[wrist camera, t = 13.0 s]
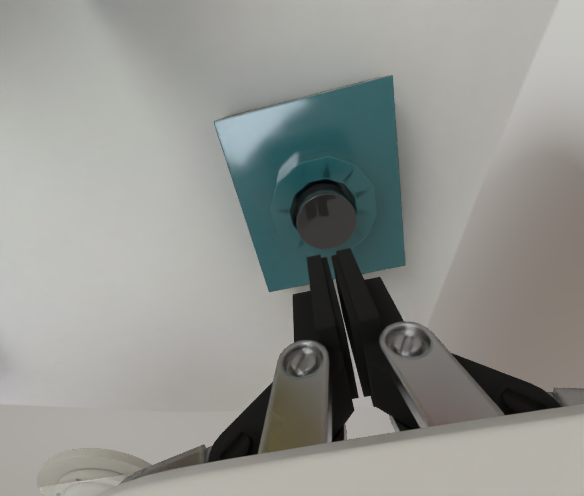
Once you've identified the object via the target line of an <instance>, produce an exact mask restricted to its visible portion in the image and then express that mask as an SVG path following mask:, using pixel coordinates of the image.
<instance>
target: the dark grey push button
mask: <svg viewBox="0 0 584 496" xmlns="http://www.w3.org/2000/svg"><path fill="white" fill-rule="evenodd" d="M356 221H357V218H356V212H355V210H354V208H353V206H352V204H351V202H350V200H349V199H348V197H347V195H346V194H345V192H344V191H343V190H342V189H340V188H339V187H337V186H335V185H333V184H329V183H320V184H316V185H313V186H311V187H309V188H307V189H306V190H305V191H304V192H303V193H302V194H301V196H300V197H299V199H298V201H297V205H296V224H297V230H298V233H299V235H300V236H301V238H302V239H303V240H304V241H305V242H306V243H307V244H309V245H310V246H312V247H315V248H319V249H332V248H335V247H338V246H340V245H342V244H343V243H345V242H346V241H347V240H348V239H349V238H350V237H351V235H352V234H353V232H354V230H355V227H356Z"/></svg>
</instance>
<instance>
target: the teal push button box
mask: <svg viewBox="0 0 584 496" xmlns="http://www.w3.org/2000/svg"><path fill="white" fill-rule="evenodd" d="M214 125H215V128H216V131H217V134H218V137H219V140H220V143H221V146H222V149H223V152H224V155H225V158H226V161H227V165H228V168H229V171H230V174H231V177H232V180H233V183H234V186H235V189H236V192H237V195H238V198H239V201H240V204H241V207H242V210H243V214H244V217H245V220H246V223H247V226H248V229H249V232H250V235H251V238H252V241H253V244H254V247H255V250H256V253H257V256H258V259H259V263H260V266H261V269H262V272H263V275H264V278H265V281H266V284H267V287H268V290H269V292H272V291H277V290H283V289H288V288H293V287H298V286H303V285H308V284H310V282H309V274H308V266H307V258H306V257H310V256H315V255H319V254H320V255H321V258H323V257H327V260H328V264H329V267H330V271H331V275H332V279H333V280H334V279H336V278H335V273H334V268H333V263H332V258H331V256H333V255H336V251H338V250H343V249H348V248H351V250H352V253H353V255H354V257H355V260H356V262H357V264H358V267H359V269H360V271H361V274H364V273H369V272H374V271H380V270H385V269H390V268H395V267H400V266H405V250H404V235H403V220H402V206H401V191H400V176H399V161H398V146H397V131H396V116H395V101H394V86H393V76H392V75H390V76H385V77H379V78H374V79H370V80H367V81H363V82H359V83H355V84H351V85H347V86H343V87H340V88H336V89H332V90H328V91H324V92H320V93H316V94H313V95H309V96H305V97H301V98H297V99H293V100H289V101H286V102H282V103H278V104H274V105H270V106H266V107H262V108H259V109H255V110H251V111H247V112H243V113H239V114H235V115H232V116H228V117H224V118H222V119H219V120H216V121H214ZM320 183H329V184H333V185H335V186H337V187H339V188H340V189H342V190H343V191H344V192H345V194H346V195H347V197H348V199H349V200H350V202H351V204H352V206H353V208H354V210H355V212H356V218H357V221H356V227H355V230H354V232H353V234H352V235H351V237H350V238H349V239H348V240H347V241H346V242H345V243H343V244H342V245H340V246H338V247H335V248H332V249H319V248H315V247H312V246H310V245H309V244H307V243H306V242H305V241H304V240H303V239H302V238H301V236H300V235H299V233H298V230H297V224H296V205H297V201H298V199H299V197H300V196H301V194H302V193H303V192H304V191H305V190H306V189H307V188H309V187H311V186H313V185H316V184H320Z"/></svg>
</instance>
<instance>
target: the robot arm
mask: <svg viewBox="0 0 584 496" xmlns="http://www.w3.org/2000/svg"><path fill="white" fill-rule="evenodd" d="M306 258H307V266H308V274H309V282H310V290H311V291H307V292H302V293H297V294H293V322H294V343H293V344H290V345H289V346H288V347H286V348H285V349H284V350H283V352H282V353H281V354H280V356H279V359H278V361H277V366H276V371H275V376H274V380H273V382H272V383H271V384H270V385H269V386H268V387H267V388H266V389H265V390H264V391H263V392H262V393H261V394H260V395H259V396H258V397H257V398H256V399H255V400H254V401H253V402H252V403H251V404H250V405H249V406H248V407H247V408H246V409H245V410H244V411H243V412H242V413H241V415H240V416H239V417H238V418H237V419H236V420H235V421H234V422H233V423H232V424H231V425H230V426H229V427H228V428H227V429H226V430H225V431H224V432H223V433H222V434H221V435H220V436H219V437H218V439H217V440H216V441H215V442H214V444H213V446H210V447H208V448H206V447H205V445H201V446H199V447H196V448H194V449H191V450H189V451H187V452H184V453H182V454H179V455H177V456H174V457H172V458H169V459H167V460H164V461H162V462H159V463H157V464H155V465H152V466H150V467H147V468H145V469H142V470H140V471H137V472H135V473H133V474H131V475H130V476H126V475H123V474H121V473H117V472H114V471H109V470H103V469H81V470H76V471H72V472H70V473H67V474H65V475H64V476H62V477H61V478H60V480H59V481H58V483H57V484H56V486H55V488H54V496H584V389H577V388H554V390H553V392H545V391H544V390H543V389H541V388H539V387H537V386H534V385H532V384H531V383H528V382H526V381H523V380H520V379H518V378H515V377H512V376H510V375H507V374H505V373H502V372H499V371H497V370H494V369H491V368H489V367H486V366H484V365H481V364H478V363H476V362H473V361H471V360H468V359H465V358H463V357H460V356H458V355H455V354H452V353H450V352H449V351H448V349H447V348H446V347H445V346H444V345H443V344H442V343H441V341H440V340H439V339H438V338H437V337H436V336H435V335H434V333H433V332H431V331H430V330H429V329H428V328H427V327H425V326H423V325H421V324H418V323H414V322H404V321H403V319H402V317H401V315H400V313H399V311H398V310H397V308H396V306H395V304H394V302H393V300H392V298H391V296H390V294H389V293H388V291H387V289H386V287H385V285H384V283H383V281H382V279H381V278H380V277H377V278H372V279H367V280H364V278H363V276H362V274H361V271H360V269H359V267H358V264H357V262H356V260H355V257H354V255H353V253H352V250H351V248H348V249H343V250H338V251H336V255H333V256H331V258H332V263H333V268H334V273H335V278H336V283H337V288H338V293H339V298H340V303H341V308H342V313H343V318H344V322H345V326H346V330H347V333H348V337H349V341H350V345H351V349H352V353H353V356H354V360H355V364H356V368H357V372H358V376H359V379H360V383H361V387H362V391H363V395H364V397H366V396H371V399H372V403H373V406H374V407H377V408H379V409H381V410H383V411H384V412H386V413H387V414H389V417H390V420H391V423H392V425H393V427H394V430H395V432H394V433H388V434H381V435H375V436H368V437H363V438H356V439H349V440H347V430H346V425H345V422H346V421H347V420H348V418H349V417H350V416H351V414H352V413H353V411H354V407H353V402H352V399H354V398H359V397H358V392H357V387H356V382H355V377H354V372H353V367H352V362H351V357H350V352H349V347H348V342H347V336H346V332H345V327H344V322H343V318H342V314H341V310H340V306H339V303H338V299H337V295H336V291H335V287H334V283H333V279H332V275H331V271H330V267H329V264H328V260H327V257H323V258H321V255H320V254H319V255H315V256H310V257H306Z"/></svg>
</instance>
